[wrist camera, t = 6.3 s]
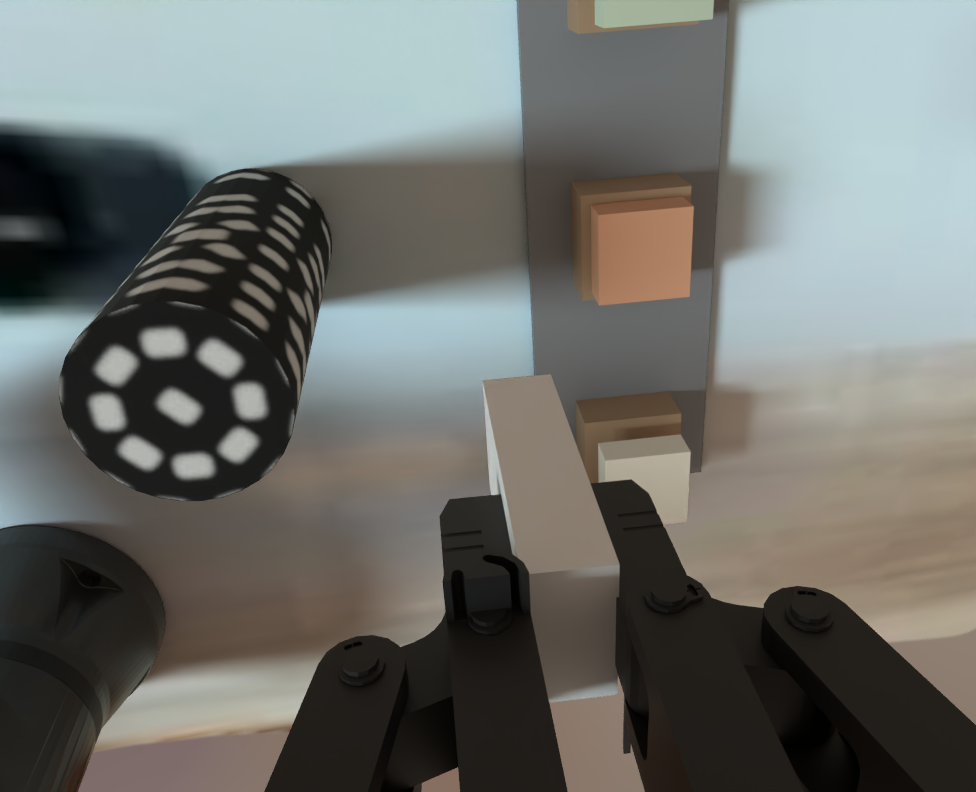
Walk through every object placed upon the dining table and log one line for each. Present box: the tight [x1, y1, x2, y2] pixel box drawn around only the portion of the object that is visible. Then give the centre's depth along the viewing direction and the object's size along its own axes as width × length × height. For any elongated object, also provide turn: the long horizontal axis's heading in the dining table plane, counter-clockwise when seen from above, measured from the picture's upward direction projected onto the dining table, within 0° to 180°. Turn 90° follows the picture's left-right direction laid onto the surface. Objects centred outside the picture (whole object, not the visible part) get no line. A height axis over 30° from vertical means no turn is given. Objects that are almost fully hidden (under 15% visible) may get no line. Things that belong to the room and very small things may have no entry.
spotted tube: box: [59, 169, 332, 501], centre depth 40 cm, size 8×8×20 cm
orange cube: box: [591, 196, 694, 306], centre depth 48 cm, size 5×5×5 cm
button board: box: [517, 0, 729, 483], centre depth 49 cm, size 11×35×4 cm, turn 4°
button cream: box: [598, 434, 691, 525], centre depth 53 cm, size 5×5×5 cm
